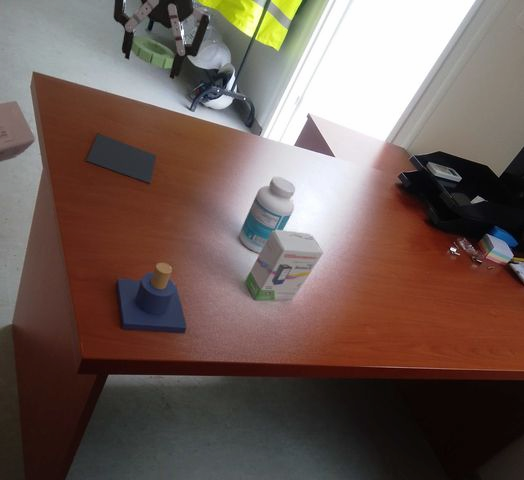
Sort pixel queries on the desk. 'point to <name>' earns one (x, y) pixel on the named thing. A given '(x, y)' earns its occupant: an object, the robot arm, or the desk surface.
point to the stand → (151, 302)
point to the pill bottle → (268, 213)
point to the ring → (152, 52)
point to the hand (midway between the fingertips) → (150, 66)
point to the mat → (122, 158)
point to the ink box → (283, 265)
